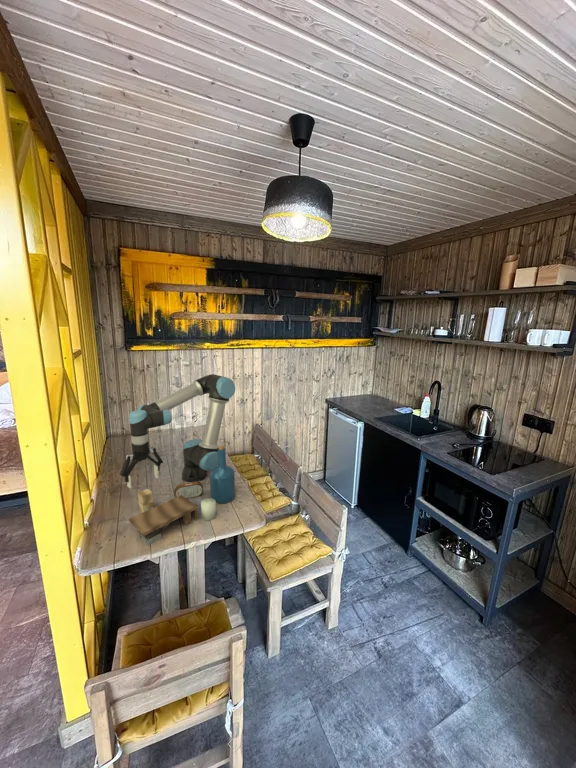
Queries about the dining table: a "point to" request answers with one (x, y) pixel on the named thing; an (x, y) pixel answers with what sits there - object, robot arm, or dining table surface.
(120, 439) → the dining table surface
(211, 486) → the wine bottle
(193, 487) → the tin
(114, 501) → the dining table surface
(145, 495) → the tool
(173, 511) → the shelf
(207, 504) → the cream cylinder
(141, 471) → the dining table surface
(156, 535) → the grey stone block
